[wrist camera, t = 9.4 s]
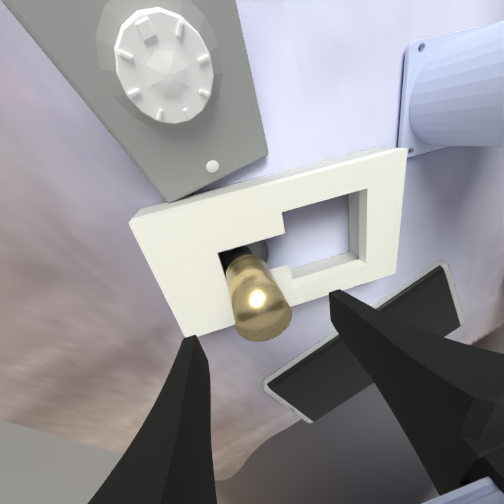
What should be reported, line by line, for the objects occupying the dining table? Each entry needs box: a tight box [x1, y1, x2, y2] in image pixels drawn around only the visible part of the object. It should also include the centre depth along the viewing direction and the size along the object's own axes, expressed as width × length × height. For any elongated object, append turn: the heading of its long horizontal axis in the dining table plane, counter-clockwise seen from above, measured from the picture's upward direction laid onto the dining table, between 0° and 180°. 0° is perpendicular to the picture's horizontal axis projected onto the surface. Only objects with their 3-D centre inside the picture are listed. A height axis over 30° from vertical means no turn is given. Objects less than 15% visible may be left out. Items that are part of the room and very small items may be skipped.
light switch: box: [1, 0, 268, 203], centre depth 13 cm, size 8×6×14 cm
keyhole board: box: [129, 147, 408, 338], centre depth 20 cm, size 20×11×4 cm, turn 102°
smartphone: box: [262, 261, 464, 423], centre depth 32 cm, size 13×27×2 cm, turn 126°
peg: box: [218, 240, 292, 341], centre depth 17 cm, size 5×5×10 cm
